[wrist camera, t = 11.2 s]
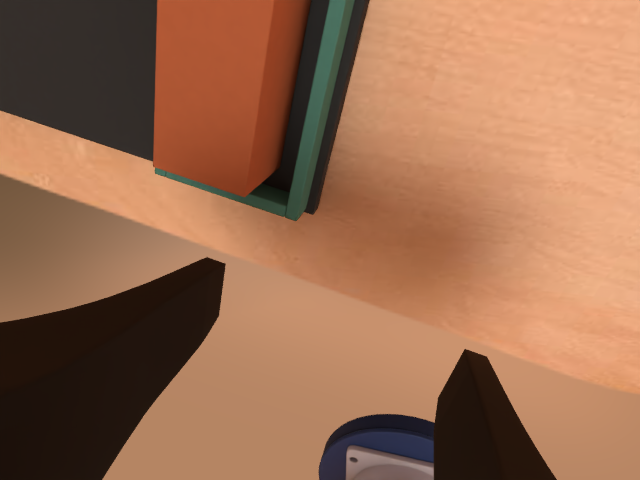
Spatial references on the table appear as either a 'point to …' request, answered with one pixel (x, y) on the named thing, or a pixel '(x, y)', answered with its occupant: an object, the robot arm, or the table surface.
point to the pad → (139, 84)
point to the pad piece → (225, 88)
